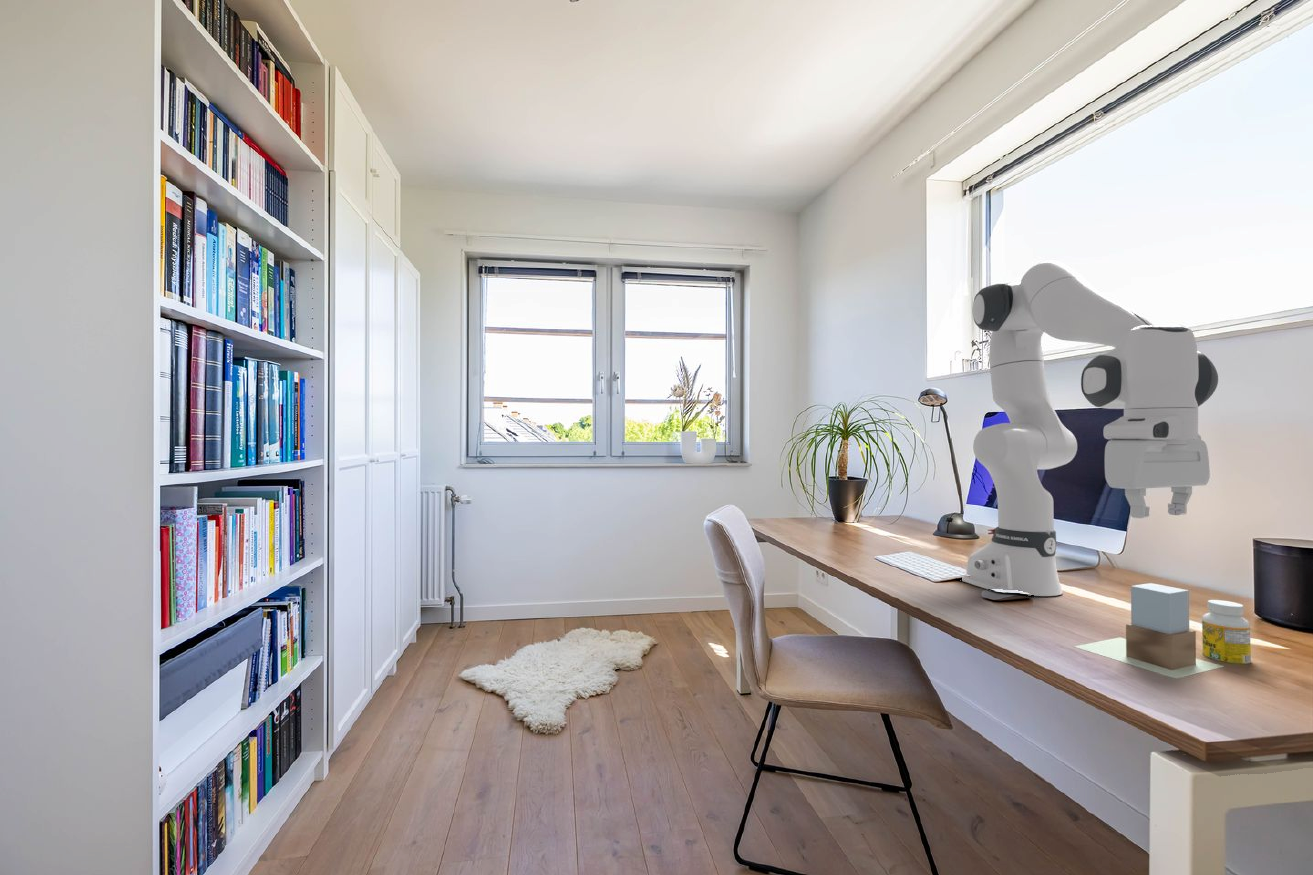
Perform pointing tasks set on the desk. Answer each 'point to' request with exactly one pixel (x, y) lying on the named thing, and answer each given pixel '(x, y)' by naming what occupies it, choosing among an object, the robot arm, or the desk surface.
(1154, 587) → the slate brick
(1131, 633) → the walnut block
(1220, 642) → the supplement bottle
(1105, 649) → the plate
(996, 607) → the desk surface
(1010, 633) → the desk surface
